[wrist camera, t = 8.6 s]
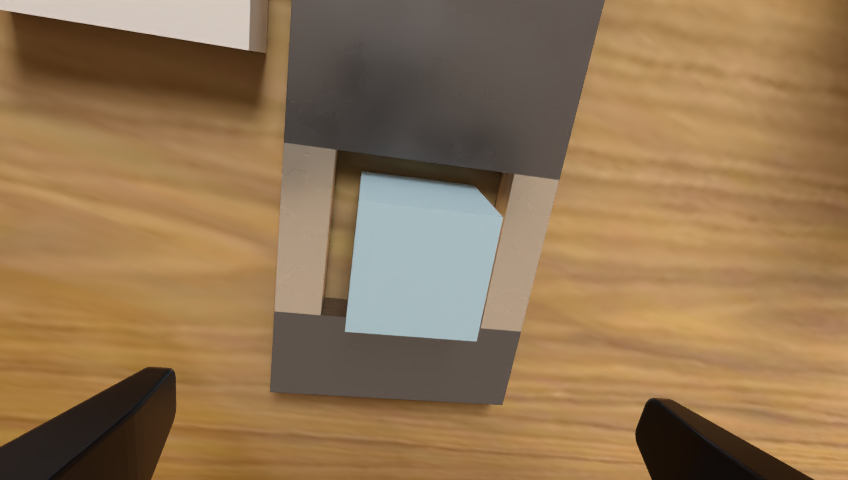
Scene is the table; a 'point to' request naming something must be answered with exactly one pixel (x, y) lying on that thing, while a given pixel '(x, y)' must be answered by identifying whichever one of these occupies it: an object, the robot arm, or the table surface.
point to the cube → (421, 258)
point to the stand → (164, 18)
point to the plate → (429, 142)
